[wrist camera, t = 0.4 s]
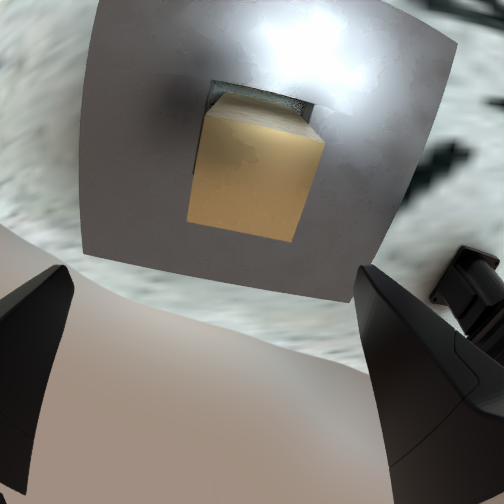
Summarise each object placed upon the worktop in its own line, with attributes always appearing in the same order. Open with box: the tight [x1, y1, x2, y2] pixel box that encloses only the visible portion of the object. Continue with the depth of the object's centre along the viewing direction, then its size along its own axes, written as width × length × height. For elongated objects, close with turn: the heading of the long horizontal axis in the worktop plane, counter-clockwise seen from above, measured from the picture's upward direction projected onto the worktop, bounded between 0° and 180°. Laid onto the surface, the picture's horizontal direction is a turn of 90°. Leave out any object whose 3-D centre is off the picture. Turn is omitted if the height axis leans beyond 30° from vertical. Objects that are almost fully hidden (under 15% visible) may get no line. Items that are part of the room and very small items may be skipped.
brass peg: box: [187, 92, 325, 242], centre depth 14 cm, size 4×4×9 cm
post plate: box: [79, 0, 458, 303], centre depth 17 cm, size 20×20×2 cm
